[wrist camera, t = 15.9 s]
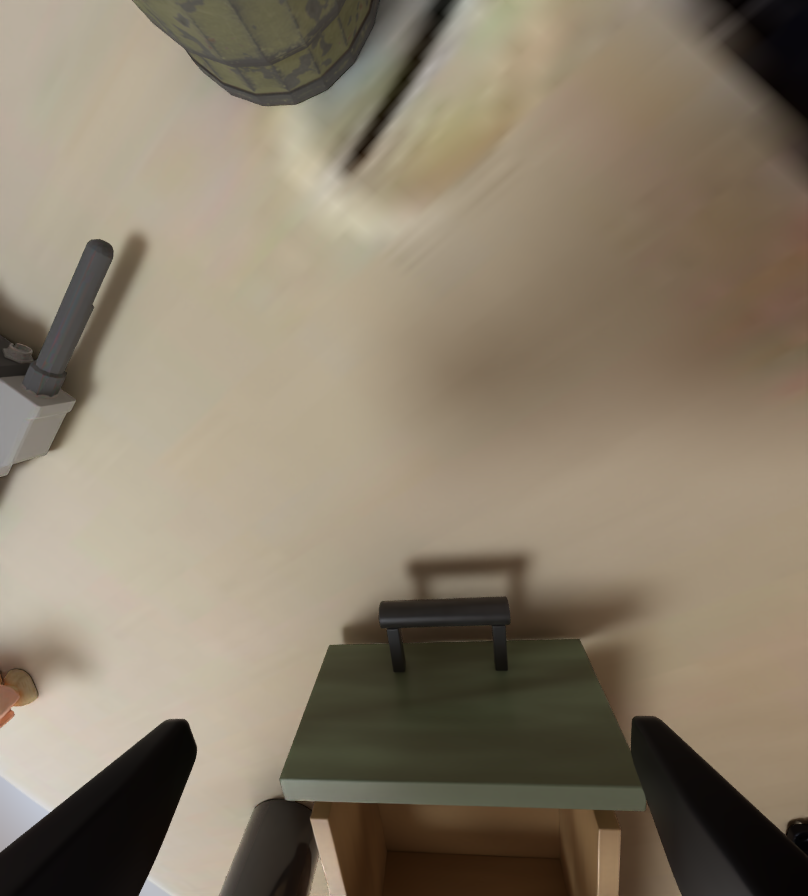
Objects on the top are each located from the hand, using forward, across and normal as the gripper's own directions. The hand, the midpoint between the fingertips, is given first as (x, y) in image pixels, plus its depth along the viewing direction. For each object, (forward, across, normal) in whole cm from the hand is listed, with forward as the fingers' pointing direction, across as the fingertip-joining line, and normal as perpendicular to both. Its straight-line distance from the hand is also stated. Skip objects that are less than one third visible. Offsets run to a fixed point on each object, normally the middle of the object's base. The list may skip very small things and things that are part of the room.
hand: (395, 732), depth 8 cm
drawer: (+11, 0, +14) cm, 18 cm away
